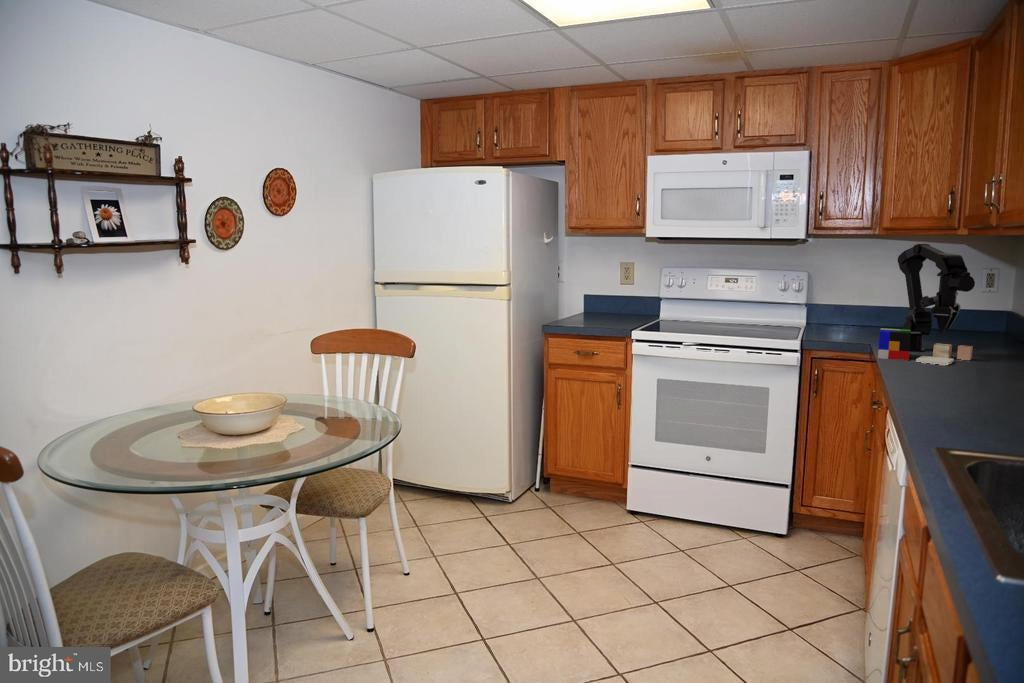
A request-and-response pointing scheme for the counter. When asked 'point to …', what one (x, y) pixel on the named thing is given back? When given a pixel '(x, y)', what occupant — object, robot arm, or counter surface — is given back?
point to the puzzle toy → (894, 344)
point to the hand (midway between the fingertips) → (943, 331)
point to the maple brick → (942, 350)
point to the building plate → (935, 360)
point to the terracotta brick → (964, 352)
